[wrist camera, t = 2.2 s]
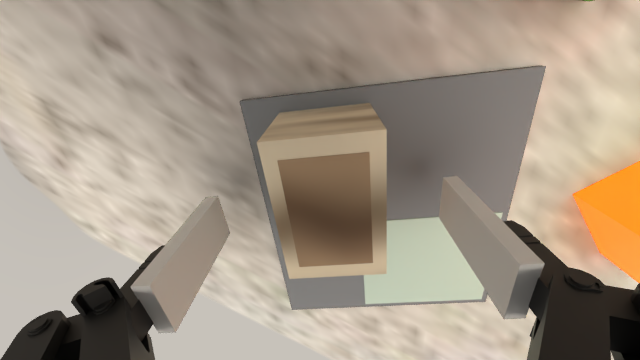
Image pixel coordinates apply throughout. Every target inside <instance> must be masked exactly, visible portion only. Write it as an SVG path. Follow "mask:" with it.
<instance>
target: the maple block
mask: <svg viewBox="0 0 640 360" xmlns="http://www.w3.org/2000/svg"><path fill="white" fill-rule="evenodd" d="M257 146H258V150H259V154H260V158H261V163H262V167H263V171H264V175H265V179H266V184H267V188H268V192H269V196H270V200H271V204H272V209H273V213H274V217H275V221H276V225H277V230H278V234H279V238H280V242H281V246H282V251H283V255H284V259H285V263H286V267H287V271H288V276H289V279H298V278H317V277H336V276H356V275H375V274H387V129H386V128H385V126H384V125H383V123H382V121H381V120H380V118H379V117H378V115H377V114H376V112H375V111H374V109H373V107H372V106H371V104H370V103H363V104H353V105H344V106H335V107H326V108H317V109H308V110H299V111H290V112H281V113H279V114H278V115H277V116H276V118H275V119H274V120H273V122H272V123H271V124H270V126H269V127H268V128H267V130H266V131H265V132H264V134H263V135H262V136H261V137H260V139H259V140H258V141H257Z"/></svg>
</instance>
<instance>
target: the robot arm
mask: <svg viewBox="0 0 640 360" xmlns="http://www.w3.org/2000/svg"><path fill="white" fill-rule="evenodd" d="M439 219H440V220H441V222H442V223H443V225H444V227H445V228H446V230H447V231H448V233H449V234H450V236H451V237H452V239H453V241H454V242H455V244H456V245H457V247H458V248H459V250H460V251H461V253H462V255H463V256H464V258H465V259H466V261H467V262H468V264H469V266H470V267H471V269H472V270H473V272H474V273H475V275H476V276H477V278H478V280H479V281H480V283H481V284H482V286H483V287H484V289H485V290H486V292H487V294H488V295H489V297H490V298H491V300H492V301H493V303H494V305H495V306H496V308H497V309H498V311H499V312H500V314H501V315H502V317H503V319H521V318H526V315H527V312H528V309H529V308H530V309H531V310H532V311H533V313H534V314H535V315H536V317H537V318H536V321H535V323H534V326H533V328H532V331H531V334H530V336H531V337H532V338H531V343H530V348H529V352H528V357H527V360H611V352H612V355H613V357H614V360H640V283H639V284H638V285H637V287H636V289H635V290H630V289H624V288H618V287H612V286H606V285H604V284H603V283H602V282H601V281H600V280H599V279H597V278H596V277H594V276H593V275H591V274H589V273H586V272H584V271H581V270H578V269H574V268H568V267H567V266H566V265H565V264H564V263H563V262H562V261H561V260H560V259H558V258H557V257H556V256H555V255H554V254H553V253H552V252H551V251H550V250H549V249H548V248H546V247H545V246H544V245H543V244H541V243H540V241H539V240H538V239H537V238H536V237H533V235H532V234H531V233H530V232H529V231H528V230H527V229H526V228H525V227H523V226H521V225H519V224H518V223H516V222H514V221H512V220H511V221H502V220H501V219H500V218H499V217H498V216H497V215H496V214H495V213H494V212H493V211H492V210H491V209H490V208H489V207H488V206H487V205H486V204H485V203H484V202H483V201H482V200H481V199H480V198H479V197H478V196H477V195H476V194H475V193H474V192H473V191H472V190H471V189H470V188H469V187H468V186H467V185H466V184H465V183H464V182H463V181H462V180H461V179H460V178H459V177H458V176H451V177H443V184H442V193H441V203H440V213H439ZM229 234H230V231H229V228H228V225H227V222H226V219H225V216H224V213H223V210H222V207H221V204H220V201H219V198H218V196H216V197H206V198H205V199H204V200H203V201H202V202H201V204H200V205H199V206H198V207H197V208H196V209H195V211H194V212H193V213H192V214H191V215H190V217H189V218H188V219H187V220H186V221H185V223H184V224H183V225H182V226H181V227H180V228H179V230H178V231H177V232H176V233H175V234H174V236H173V237H172V238H171V239H170V240H169V241H168V243H167V244H166V245H164V246H161V247H159V248H158V249H157V250H155V251H154V252H152V253H151V254H150V256H149V257H148V258H147V259H146V260H145V263H143V264H142V265H141V266H140V267H139V269H138V270H137V271H136V272H135V273H134V274H133V275H132V276H131V277H130V279H129V280H128V281H127V282H126V283H125V284H124V285H123V286H122V287H121V289H119V287H118V286H117V284H116V283H115V281H114V280H113V279H112V278H102V279H99V280H96V281H94V282H92V283H90V284H88V285H86V286H85V287H83V288H82V289H81V290H80V291H78V292H77V294H76V295H75V296H74V297H73V299H72V301H71V303H72V304H73V305H74V306H75V308H76V309H77V310H78V312H79V313H80V314H79V315H75V316H72V317H69V318H66V317H65V315H64V314H63V313H62V312H61V311H57V310H56V311H51V312H48V313H45V314H43V315H41V316H39V317H37V318H36V319H34V320H32V321H31V322H30V323H28V324H27V325H26V326H25V327H23V328H22V329H21V331H20V332H19V333H18V334H17V335H16V337H15V339H14V340H13V342H12V343H11V345H10V346H9V348H8V349H7V351H6V352H5V354H4V355H3V357H2V358H1V360H155V357H154V353H153V347H152V342H151V337H150V336H149V334H148V331H149V329H150V328H151V326H152V325H154V326H155V328H156V329H157V331H158V332H159V333H170V332H176V331H177V329H178V327H179V326H180V323H181V322H182V320H183V318H184V316H185V315H186V313H187V311H188V309H189V307H190V305H191V303H192V302H193V300H194V298H195V296H196V294H197V293H198V291H199V289H200V287H201V285H202V284H203V282H204V280H205V278H206V276H207V274H208V273H209V271H210V269H211V267H212V265H213V263H214V262H215V260H216V258H217V256H218V254H219V252H220V251H221V249H222V247H223V245H224V243H225V241H226V240H227V238H228V236H229ZM610 350H611V352H610Z"/></svg>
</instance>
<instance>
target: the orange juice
mask: <svg viewBox="0 0 640 360" xmlns="http://www.w3.org/2000/svg"><path fill="white" fill-rule="evenodd" d="M573 196H574V198H575V200H576V202H577V205H578V207H579V209H580V211H581V213H582V215H583V217H584V219H585V222H586V224H587V226H588V228H589V230H590V232H591V234H592V237H593V239H594V241H595V243H596V245H597V247H598V249H599V252H600V253H601V254H602V255H604V256H605V257H606V258H607V259H609V260H610V261H611V262H613V263H614V264H615V265H616V266H618V267H619V268H620V269H622V270H623V271H624V272H625V273H627V274H628V275H629V276H631V277H632V278H633V279H634V280H636V281H637V282H638V283H640V161H639V162H637V163H635V164H633V165H631V166H629V167H627V168H625V169H623V170H621V171H619V172H617V173H615V174H613V175H611V176H609V177H607V178H605V179H603V180H601V181H599V182H597V183H595V184H593V185H591V186H588V187H586V188H584V189H582V190H580V191H578V192H576V193H574V194H573Z"/></svg>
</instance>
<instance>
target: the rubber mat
mask: <svg viewBox="0 0 640 360" xmlns="http://www.w3.org/2000/svg"><path fill="white" fill-rule="evenodd" d="M545 68H546V66H532V67H524V68H515V69H507V70H498V71H489V72H481V73H472V74H464V75H455V76H446V77H438V78H429V79H420V80H412V81H403V82H395V83H386V84H377V85H369V86H360V87H352V88H343V89H334V90H326V91H317V92H308V93H300V94H291V95H283V96H274V97H265V98H257V99H248V100H242V101H240V105H241V109H242V113H243V117H244V121H245V125H246V129H247V133H248V137H249V141H250V145H251V148H252V152H253V156H254V160H255V164H256V168H257V172H258V176H259V180H260V184H261V188H262V192H263V196H264V200H265V204H266V208H267V212H268V216H269V220H270V224H271V228H272V232H273V236H274V240H275V244H276V248H277V252H278V256H279V260H280V264H281V268H282V272H283V276H284V280H285V284H286V288H287V292H288V296H289V300H290V304H291V308H292V310H297V309H321V308H345V307H369V306H393V305H418V304H442V303H466V302H486V298H487V292H486V290H485V289H484V287H483V286H482V284H481V283H480V281H479V280H478V278H477V276H476V275H475V273H474V272H473V270H472V269H471V267H470V266H469V264H468V262H467V261H466V259H465V258H464V256H463V255H462V253H461V251H460V250H459V248H458V247H457V245H456V244H455V242H454V241H453V239H452V237H451V236H450V234H449V233H448V231H447V230H446V228H445V227H444V225H443V223H442V222H441V220H440V219H439V213H440V203H441V193H442V184H443V177H451V176H458V177H459V178H460V179H461V180H462V181H463V182H464V183H465V184H466V185H467V186H468V187H469V188H470V189H471V190H472V191H473V192H474V193H475V194H476V195H477V196H478V197H479V198H480V199H481V200H482V201H483V202H484V203H485V204H486V205H487V206H488V207H489V208H490V209H491V210H492V211H493V212H494V213H495V214H496V215H497V216H498V217H499V218H500V219H501V220H502V221H506V220H507V216H508V213H509V209H510V205H511V201H512V197H513V193H514V189H515V185H516V181H517V177H518V174H519V170H520V166H521V162H522V158H523V154H524V150H525V146H526V142H527V138H528V134H529V131H530V127H531V123H532V119H533V115H534V111H535V107H536V103H537V99H538V95H539V92H540V88H541V84H542V80H543V76H544V72H545ZM363 103H370V104H371V106H372V107H373V109H374V111H375V112H376V114H377V115H378V117H379V118H380V120H381V121H382V123H383V125H384V126H385V128H386V129H387V274H375V275H356V276H336V277H317V278H298V279H289V276H288V271H287V267H286V263H285V259H284V255H283V251H282V246H281V242H280V238H279V234H278V230H277V225H276V221H275V217H274V213H273V209H272V204H271V200H270V196H269V192H268V188H267V184H266V179H265V175H264V171H263V167H262V163H261V158H260V154H259V150H258V146H257V141H258V140H259V139H260V137H261V136H262V135H263V134H264V132H265V131H266V130H267V128H268V127H269V126H270V124H271V123H272V122H273V120H274V119H275V118H276V116H277V115H278V114H279V113H281V112H290V111H299V110H308V109H317V108H326V107H335V106H344V105H353V104H363Z"/></svg>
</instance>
